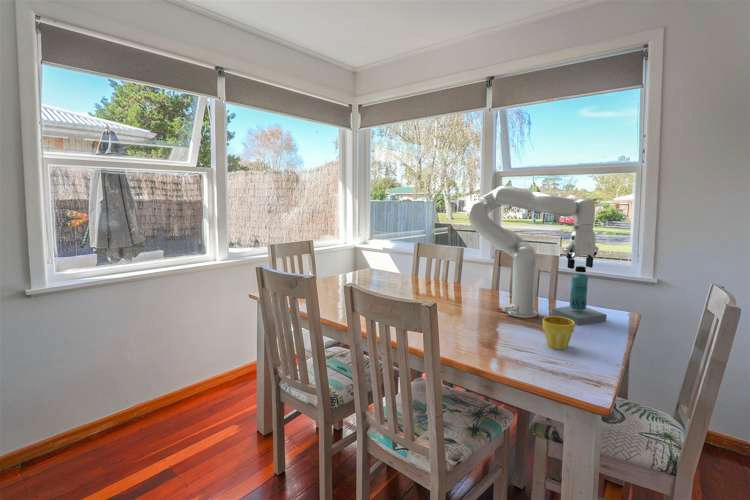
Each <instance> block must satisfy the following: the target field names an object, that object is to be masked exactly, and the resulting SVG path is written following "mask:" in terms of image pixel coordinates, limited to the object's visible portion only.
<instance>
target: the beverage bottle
mask: <svg viewBox="0 0 750 500" xmlns="http://www.w3.org/2000/svg"><path fill="white" fill-rule="evenodd" d="M586 268H587V267H586V266H581V265H577V266H575V268H574V269H575V273H574V274H573V275H571V285H570V286H571V288H570V299H569V306H570V308H572V309H575V310H585V309H586V308H587V300H588V297H587V296H588V283H589V277H588V275H586V272H587V270H586ZM576 272H577V273H576Z"/></svg>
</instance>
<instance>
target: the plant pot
mask: <svg viewBox="0 0 750 500" xmlns="http://www.w3.org/2000/svg"><path fill="white" fill-rule="evenodd" d="M575 326H576V325H575V323H574V321H573V320H571V319H568V318H565V317H559V316H554V315H550V316H545V317H543V318H542V329H543V330H544V334H545V338H546V339H545V340H546V345H547V347H549V348H550V349H553V350H561V351H563V350H566V349H567V348H568V346H569V343H570V340H571V337H572V334H573V333H574V332H575Z"/></svg>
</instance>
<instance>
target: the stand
mask: <svg viewBox="0 0 750 500" xmlns="http://www.w3.org/2000/svg"><path fill="white" fill-rule="evenodd" d="M607 315H608V314H606V313H604V312H601V311H598V310H595V309H593V308H590V307H586V309H585V310H575V309H572V308H570V305H569V306H568V305H567V306H562V307H561V306H560V307H554V308H552V309H551V316H559V317H565V318H568V319H571V320H573V321H574V323H575V326H584V325H589V324H595V323H596V324H597V323H602V322H603V323H604V322H607Z"/></svg>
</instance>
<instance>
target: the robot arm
mask: <svg viewBox="0 0 750 500" xmlns="http://www.w3.org/2000/svg"><path fill="white" fill-rule="evenodd" d="M502 206H507V207H512V208H517V209H521V210H527V211H531V212H538V213H539V212H540V213H544V214H550V215H553V216H554V215H555V216H558V217H559V216H560V217H564V218H567V217H572V216H573V225H572V226H571V229H572V231H571V234H570V239H569V245H568V246H566V247H565V248H563V252H564V255H565V257H566V259H567V265H566V267H567V268H568V269H571V270H574V269H575V262H576V260H575V258H576V257H577V256H586V259H585V267H586V268H593V267H594V264H593V263H594V259H595V258H596V256H597V254H598V251H599V247H598V246H596V234H595V231H594V223H595V211H596V201H595V199H593V198H578V199H574V198H569V197H568V198H567V197H562V196H556V195H551V194H545V193H543V192H539V191H536V190H532V189H527V188H526V189H525V188H520V187H516V186H511V185H500V186H497V187H496V188H494V189H493V190H491V191H490V192H488V193H486V194H484V195H482V196H481V197H479V198H477V199H475V200H474V201H473V202H471V204H470V207H469V210H468V220H469V223H470V226H471V227H472V229H473V230H475V232H476V233H477V234H479V235H480V236H481V237H483V239H484V240H486V241H488V242H489V243H490V244H492V245H493V246H494V247H495V248H496V249H498V250H499V251H501V252H505V253H506V254H508V255H509V256H511V258H512V286H511V287H512V288H511V303H509V305H508V306H502V309H501V310H502V311H503V312H507V313H508V314H509V315H510V316H512V317H514V318H515V317H517V318H523V319H531V318H535V317H537V316H538V312H537V311H536V310H535V290H536V268H537V252H536V251H535V249H534V247H533V245H531V244H530V243H529V242H528V241H526V240H524V239H523V238H522V237H520V236H519V235H518V234H516V233H515V232H513V231H512V230H510V229H508V228H504V227H502V226H501V225H500V224H498V223H497V222H496V221H495V220H492V219H491V217H489V214H490V213H492V212H494V211H496V210H498V209H499V208H501V207H502Z"/></svg>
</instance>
